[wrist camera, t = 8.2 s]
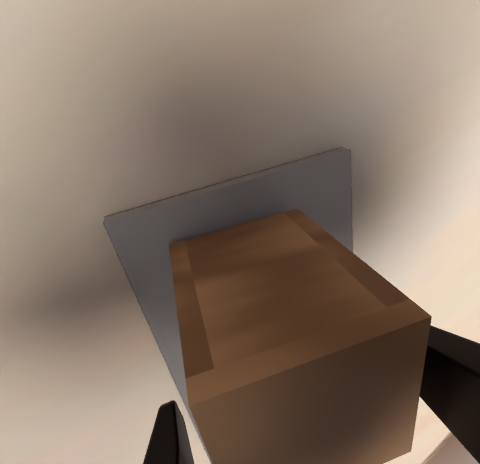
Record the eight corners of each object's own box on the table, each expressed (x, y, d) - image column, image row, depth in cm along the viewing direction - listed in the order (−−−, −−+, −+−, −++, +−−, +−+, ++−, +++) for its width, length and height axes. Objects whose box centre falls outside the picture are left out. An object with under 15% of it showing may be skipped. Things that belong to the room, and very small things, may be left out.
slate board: (239, 522, 23) (242, 532, 23) (104, 216, 11) (103, 223, 11) (352, 462, 25) (357, 469, 25) (341, 147, 13) (350, 149, 13)
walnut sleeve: (201, 343, 14) (238, 527, 8) (168, 244, 11) (188, 406, 6) (307, 307, 15) (410, 451, 9) (297, 208, 12) (431, 316, 6)
